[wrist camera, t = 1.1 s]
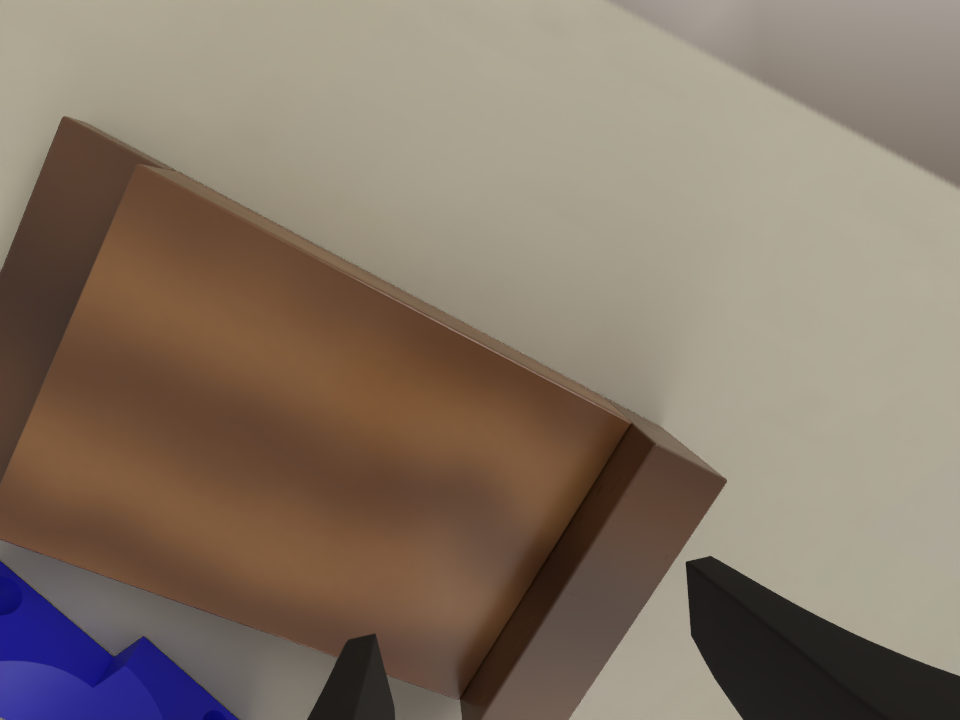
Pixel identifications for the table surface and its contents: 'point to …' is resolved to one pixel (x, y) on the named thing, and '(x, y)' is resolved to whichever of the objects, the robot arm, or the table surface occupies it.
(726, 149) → the table surface
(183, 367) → the step shelf
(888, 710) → the robot arm
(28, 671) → the blue curved notched block
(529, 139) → the table surface
